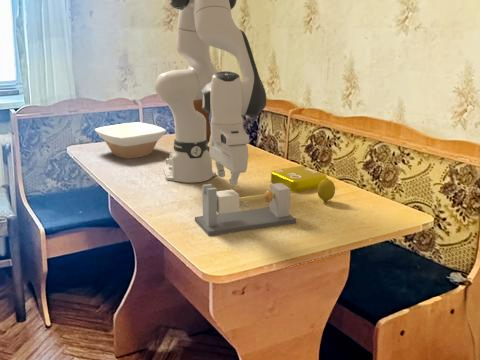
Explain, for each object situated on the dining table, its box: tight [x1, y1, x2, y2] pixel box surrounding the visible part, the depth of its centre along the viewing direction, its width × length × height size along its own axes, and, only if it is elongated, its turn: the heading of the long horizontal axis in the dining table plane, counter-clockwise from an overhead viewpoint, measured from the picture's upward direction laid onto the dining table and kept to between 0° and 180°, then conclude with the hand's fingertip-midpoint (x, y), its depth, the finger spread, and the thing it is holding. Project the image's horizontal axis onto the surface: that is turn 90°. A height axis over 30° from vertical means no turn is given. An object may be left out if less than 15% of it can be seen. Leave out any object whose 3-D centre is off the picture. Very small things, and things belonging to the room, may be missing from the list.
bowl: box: [94, 121, 167, 160], centre depth 243 cm, size 24×25×11 cm
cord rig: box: [194, 183, 297, 237], centre depth 169 cm, size 12×27×12 cm, turn 112°
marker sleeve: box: [216, 189, 240, 214], centre depth 167 cm, size 5×6×5 cm
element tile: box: [270, 165, 327, 193], centre depth 207 cm, size 15×15×5 cm
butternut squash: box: [193, 100, 211, 144], centre depth 250 cm, size 14×13×25 cm
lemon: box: [316, 177, 336, 203], centre depth 188 cm, size 6×6×8 cm
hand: (227, 180), depth 165 cm, fingers open, 8 cm apart
